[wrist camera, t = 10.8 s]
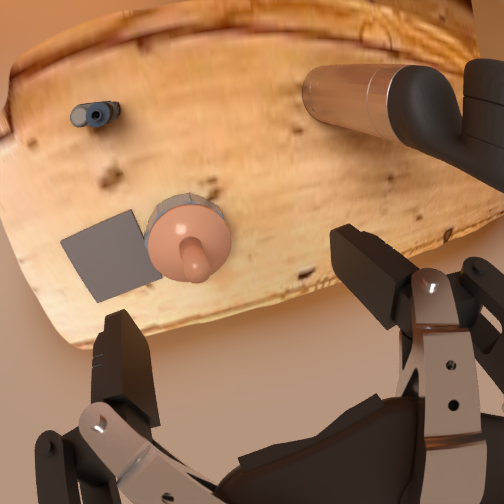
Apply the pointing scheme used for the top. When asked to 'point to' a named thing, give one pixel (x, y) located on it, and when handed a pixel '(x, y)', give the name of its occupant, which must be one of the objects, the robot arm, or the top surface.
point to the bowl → (172, 203)
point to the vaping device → (95, 114)
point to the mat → (111, 257)
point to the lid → (189, 243)
